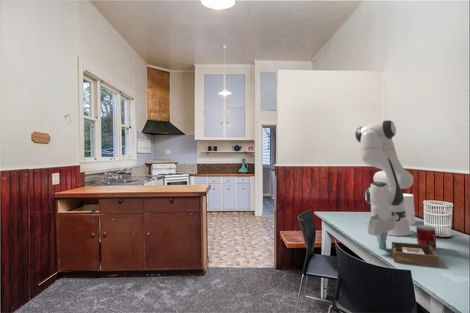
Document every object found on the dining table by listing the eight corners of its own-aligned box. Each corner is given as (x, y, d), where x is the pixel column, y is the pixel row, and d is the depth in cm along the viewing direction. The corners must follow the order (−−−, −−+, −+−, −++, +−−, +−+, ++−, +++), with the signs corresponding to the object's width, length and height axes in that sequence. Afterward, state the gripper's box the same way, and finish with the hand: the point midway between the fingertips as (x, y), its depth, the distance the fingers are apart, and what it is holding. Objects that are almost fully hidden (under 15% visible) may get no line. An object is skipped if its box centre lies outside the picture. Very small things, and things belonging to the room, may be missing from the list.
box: (392, 251, 134) (391, 241, 134) (431, 255, 126) (430, 245, 126) (394, 263, 119) (393, 252, 120) (438, 268, 112) (437, 256, 112)
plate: (402, 254, 128) (401, 246, 128) (422, 256, 125) (421, 248, 125) (403, 259, 121) (403, 252, 121) (425, 262, 117) (424, 254, 118)
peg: (379, 248, 139) (377, 225, 140) (386, 249, 138) (384, 225, 138) (379, 250, 136) (378, 226, 137) (386, 251, 135) (385, 227, 135)
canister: (414, 226, 180) (412, 196, 181) (387, 223, 190) (385, 195, 190) (415, 221, 193) (414, 193, 193) (390, 219, 202) (388, 193, 203)
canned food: (430, 252, 131) (429, 229, 131) (414, 247, 138) (412, 226, 138) (440, 249, 134) (438, 227, 134) (423, 245, 141) (422, 224, 142)
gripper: (376, 217, 129) (377, 246, 129) (396, 211, 141) (398, 238, 140) (363, 216, 134) (365, 243, 134) (384, 210, 146) (385, 235, 146)
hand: (382, 240), depth 137 cm, fingers closed on peg, 3 cm apart
